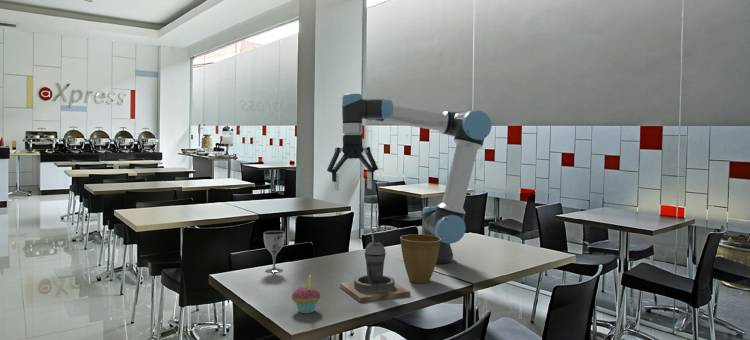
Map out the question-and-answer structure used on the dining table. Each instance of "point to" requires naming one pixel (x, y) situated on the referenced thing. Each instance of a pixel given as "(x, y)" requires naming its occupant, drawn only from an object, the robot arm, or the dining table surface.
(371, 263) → the beverage cup
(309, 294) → the cupcake
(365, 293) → the ring holder
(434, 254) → the plant pot
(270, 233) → the wine glass
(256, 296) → the dining table surface
